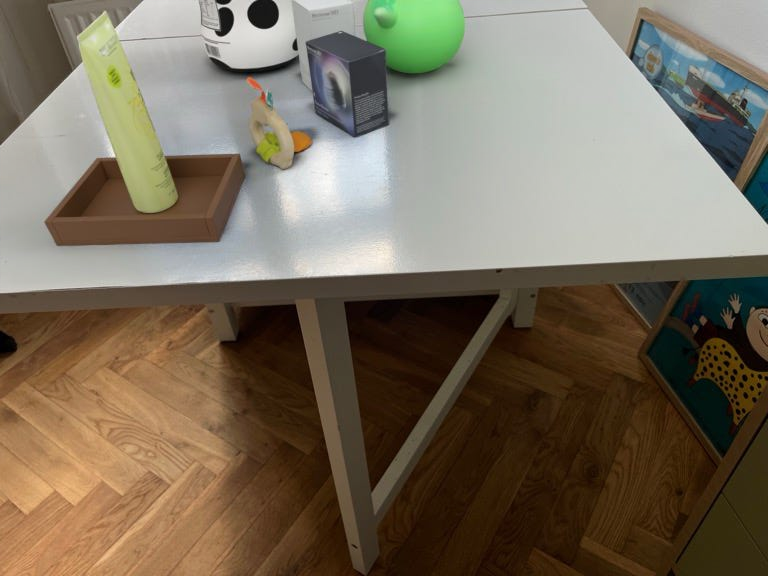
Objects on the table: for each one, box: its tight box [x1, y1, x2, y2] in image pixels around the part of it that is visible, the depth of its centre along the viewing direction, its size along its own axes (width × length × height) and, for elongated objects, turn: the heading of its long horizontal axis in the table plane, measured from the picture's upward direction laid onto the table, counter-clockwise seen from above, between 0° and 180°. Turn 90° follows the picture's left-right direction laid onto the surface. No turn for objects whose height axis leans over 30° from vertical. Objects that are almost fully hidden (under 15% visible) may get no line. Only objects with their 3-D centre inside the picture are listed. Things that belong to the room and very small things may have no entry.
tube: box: [76, 10, 178, 213], centre depth 57 cm, size 6×5×20 cm
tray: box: [43, 153, 246, 247], centre depth 63 cm, size 18×14×3 cm
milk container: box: [198, 0, 299, 73], centre depth 93 cm, size 17×17×18 cm
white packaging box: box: [292, 0, 357, 93], centre depth 85 cm, size 7×7×13 cm
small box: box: [305, 31, 390, 138], centre depth 76 cm, size 11×6×10 cm, turn 37°
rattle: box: [246, 76, 312, 170], centre depth 68 cm, size 8×8×12 cm
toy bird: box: [362, 0, 466, 74], centre depth 88 cm, size 18×17×15 cm
